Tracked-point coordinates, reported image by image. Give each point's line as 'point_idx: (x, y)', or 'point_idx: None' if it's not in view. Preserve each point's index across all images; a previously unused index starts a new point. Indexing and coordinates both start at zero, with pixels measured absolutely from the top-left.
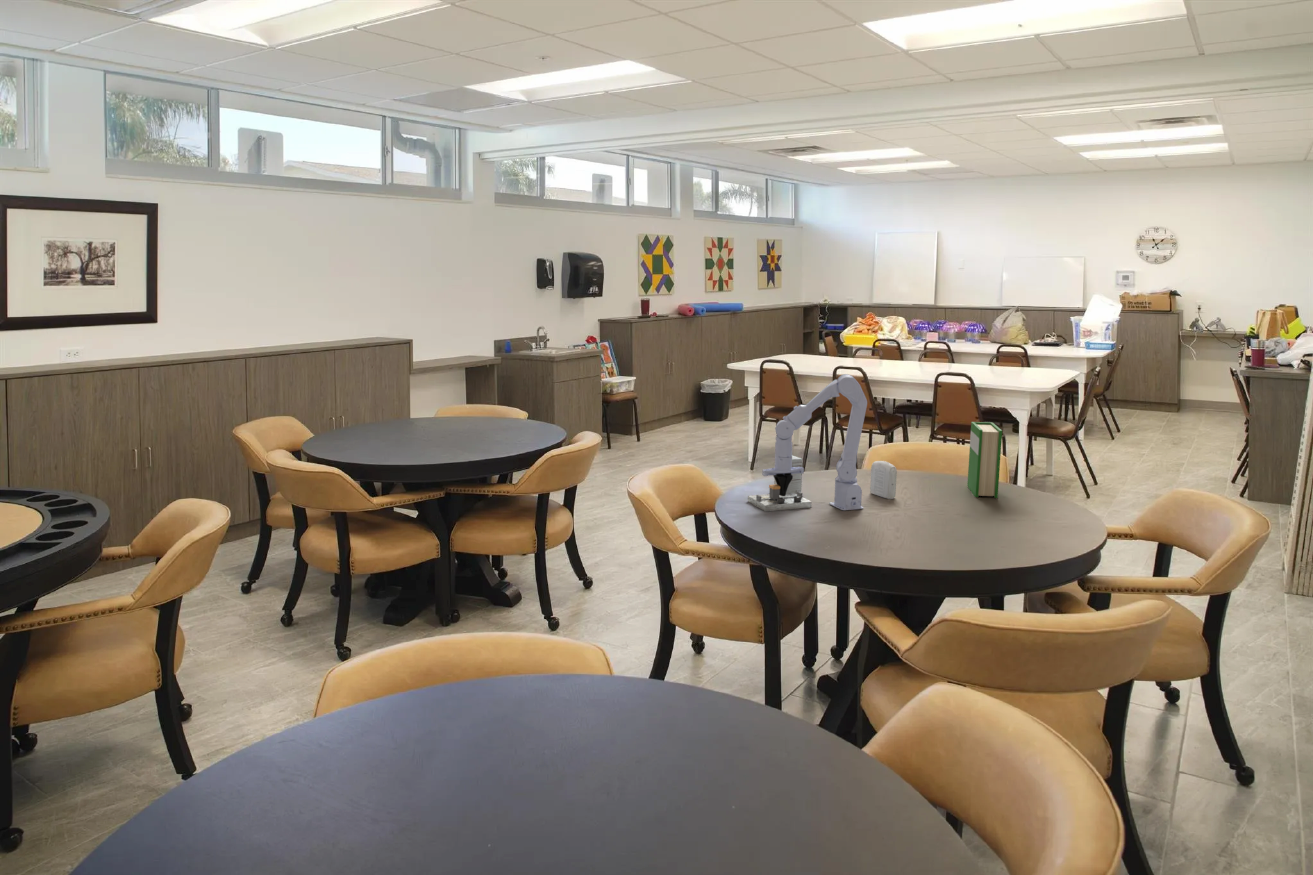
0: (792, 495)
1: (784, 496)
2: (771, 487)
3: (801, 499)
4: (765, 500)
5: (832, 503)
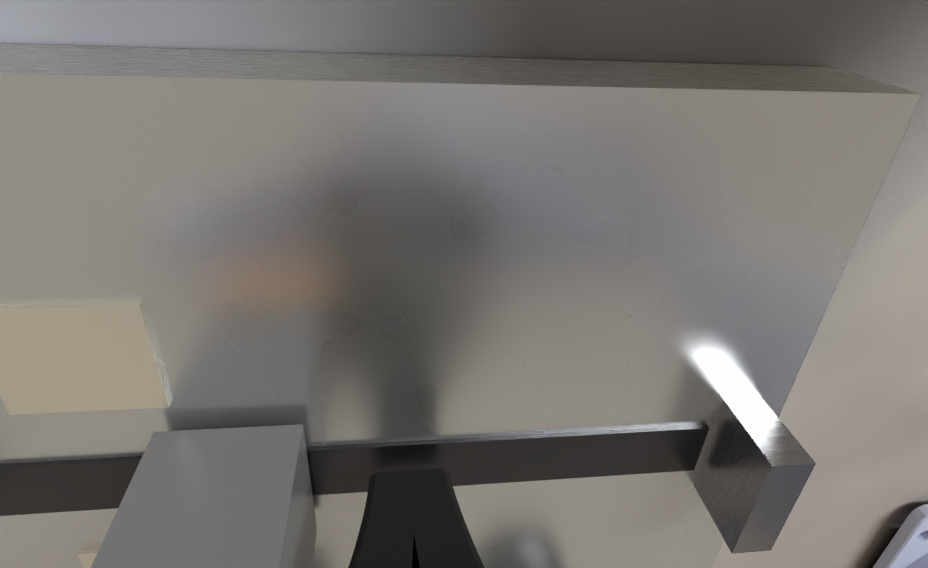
0: (698, 337)
1: (514, 368)
2: None
3: (644, 549)
4: (42, 521)
5: (920, 546)
